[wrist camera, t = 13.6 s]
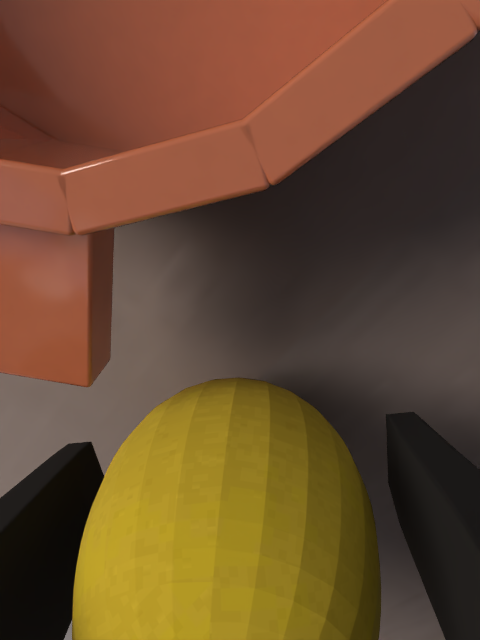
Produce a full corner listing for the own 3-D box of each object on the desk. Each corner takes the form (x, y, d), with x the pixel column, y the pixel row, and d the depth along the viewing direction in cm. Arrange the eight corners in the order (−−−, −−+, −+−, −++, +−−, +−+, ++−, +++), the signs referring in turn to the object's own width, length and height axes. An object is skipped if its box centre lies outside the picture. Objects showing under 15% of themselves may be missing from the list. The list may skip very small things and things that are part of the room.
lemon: (248, 511, 14) (221, 948, 6) (112, 409, 12) (-121, 805, 5) (383, 412, 12) (570, 867, 4) (239, 281, 10) (164, 608, 3)
